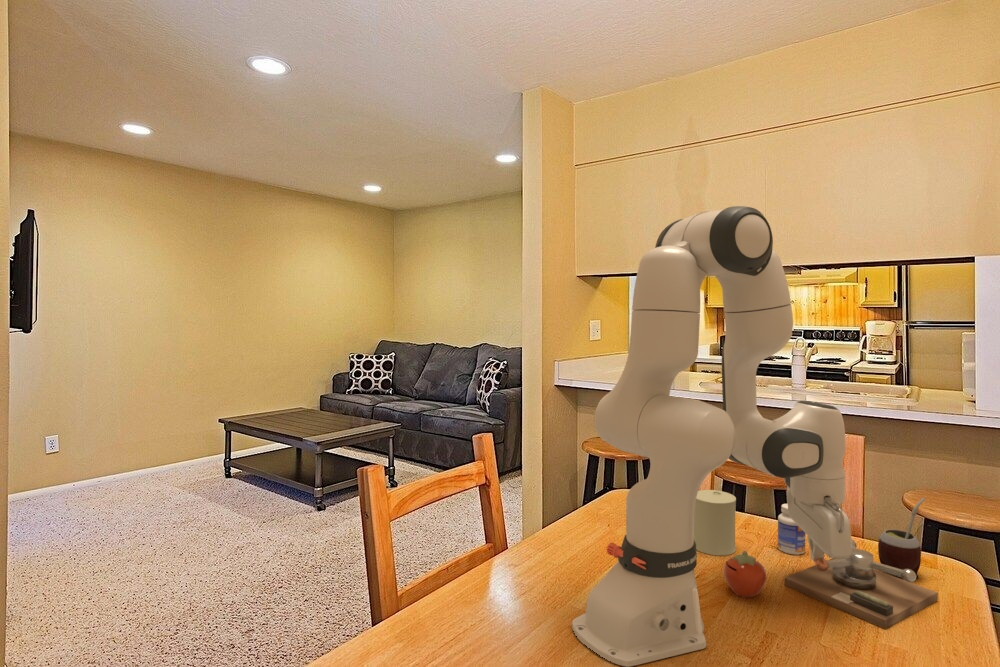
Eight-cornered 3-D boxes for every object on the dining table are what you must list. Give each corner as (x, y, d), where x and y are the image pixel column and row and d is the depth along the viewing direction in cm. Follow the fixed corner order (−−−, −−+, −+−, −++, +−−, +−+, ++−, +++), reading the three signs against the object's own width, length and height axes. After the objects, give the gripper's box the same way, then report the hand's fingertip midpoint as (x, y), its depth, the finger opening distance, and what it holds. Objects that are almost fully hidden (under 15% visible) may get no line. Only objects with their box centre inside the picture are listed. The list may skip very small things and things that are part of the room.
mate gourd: (876, 575, 115) (877, 501, 114) (879, 561, 121) (881, 490, 121) (922, 586, 111) (924, 508, 110) (923, 571, 117) (925, 497, 116)
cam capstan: (919, 601, 101) (919, 569, 101) (848, 609, 99) (849, 577, 99) (850, 562, 117) (850, 535, 117) (788, 568, 115) (788, 540, 114)
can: (739, 544, 131) (740, 491, 130) (731, 559, 123) (731, 503, 123) (697, 535, 136) (697, 485, 135) (687, 550, 128) (687, 496, 128)
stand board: (884, 629, 96) (885, 608, 96) (783, 585, 112) (784, 567, 111) (937, 600, 105) (938, 581, 105) (837, 563, 121) (838, 546, 121)
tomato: (716, 584, 112) (716, 543, 112) (753, 582, 113) (753, 541, 113) (735, 603, 105) (735, 560, 104) (774, 601, 106) (775, 558, 105)
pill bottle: (802, 557, 124) (803, 512, 123) (775, 551, 127) (775, 507, 126) (807, 548, 128) (807, 505, 128) (780, 543, 131) (781, 500, 131)
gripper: (862, 508, 97) (862, 589, 98) (814, 472, 117) (814, 540, 118) (822, 507, 98) (822, 587, 99) (781, 472, 118) (781, 539, 119)
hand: (817, 561), depth 108 cm, fingers closed, pressing on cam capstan
